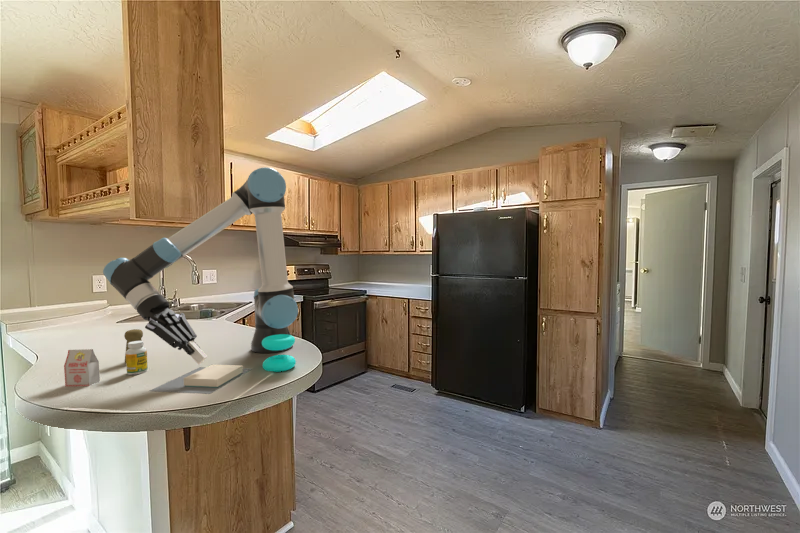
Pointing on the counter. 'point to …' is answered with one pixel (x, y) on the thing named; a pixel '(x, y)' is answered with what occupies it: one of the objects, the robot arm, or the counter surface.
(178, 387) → the mat
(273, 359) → the donuts
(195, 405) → the counter surface
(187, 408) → the counter surface
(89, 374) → the white gable carton
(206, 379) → the tile
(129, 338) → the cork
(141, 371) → the supplement bottle
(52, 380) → the counter surface
